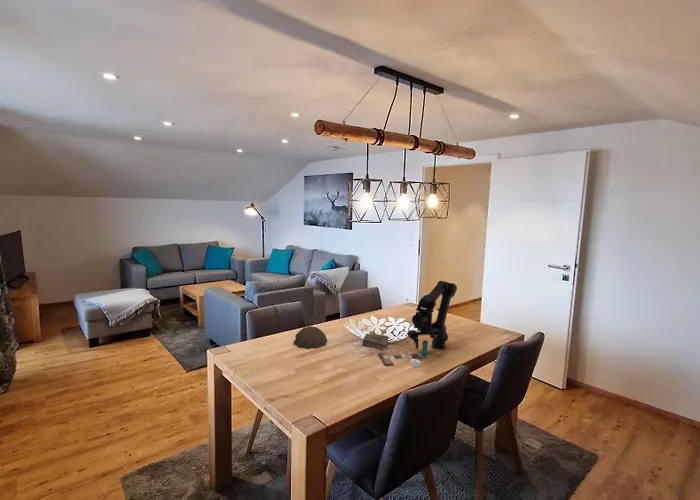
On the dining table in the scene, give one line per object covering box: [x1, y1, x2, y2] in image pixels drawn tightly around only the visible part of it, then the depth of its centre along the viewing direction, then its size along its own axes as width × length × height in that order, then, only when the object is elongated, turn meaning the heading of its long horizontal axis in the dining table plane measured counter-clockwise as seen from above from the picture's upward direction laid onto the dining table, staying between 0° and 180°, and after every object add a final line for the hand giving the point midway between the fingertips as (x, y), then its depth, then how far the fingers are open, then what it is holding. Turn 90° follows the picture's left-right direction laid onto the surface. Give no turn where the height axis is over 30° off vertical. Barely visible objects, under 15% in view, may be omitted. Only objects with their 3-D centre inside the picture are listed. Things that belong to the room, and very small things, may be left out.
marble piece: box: [361, 333, 390, 351], centre depth 220 cm, size 17×15×4 cm
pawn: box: [420, 339, 429, 358], centre depth 202 cm, size 4×4×8 cm
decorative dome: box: [293, 325, 328, 350], centre depth 220 cm, size 19×20×10 cm
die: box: [409, 358, 421, 368], centre depth 190 cm, size 4×4×4 cm
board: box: [377, 351, 431, 367], centre depth 201 cm, size 28×14×1 cm, turn 101°
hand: (425, 348), depth 202 cm, fingers open, 9 cm apart
